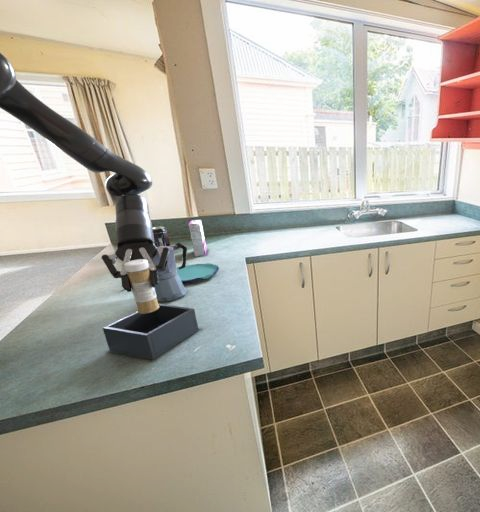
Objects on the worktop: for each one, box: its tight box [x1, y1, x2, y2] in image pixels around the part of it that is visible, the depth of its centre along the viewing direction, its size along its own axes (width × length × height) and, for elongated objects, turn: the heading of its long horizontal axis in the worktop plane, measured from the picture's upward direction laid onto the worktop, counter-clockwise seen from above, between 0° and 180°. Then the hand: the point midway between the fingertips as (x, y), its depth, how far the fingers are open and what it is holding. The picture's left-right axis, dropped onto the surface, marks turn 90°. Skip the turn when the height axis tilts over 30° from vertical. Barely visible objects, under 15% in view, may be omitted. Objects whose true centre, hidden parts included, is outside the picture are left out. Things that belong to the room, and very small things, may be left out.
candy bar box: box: [187, 219, 208, 257], centre depth 149 cm, size 11×5×16 cm, turn 26°
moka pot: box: [149, 242, 188, 302], centre depth 102 cm, size 10×15×20 cm, turn 155°
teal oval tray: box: [176, 262, 220, 283], centre depth 120 cm, size 20×30×2 cm, turn 109°
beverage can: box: [153, 226, 171, 247], centre depth 155 cm, size 7×7×12 cm
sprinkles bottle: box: [124, 259, 159, 314], centre depth 74 cm, size 5×5×13 cm
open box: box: [102, 303, 199, 360], centre depth 78 cm, size 14×14×7 cm
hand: (141, 288), depth 73 cm, fingers closed on sprinkles bottle, 4 cm apart
